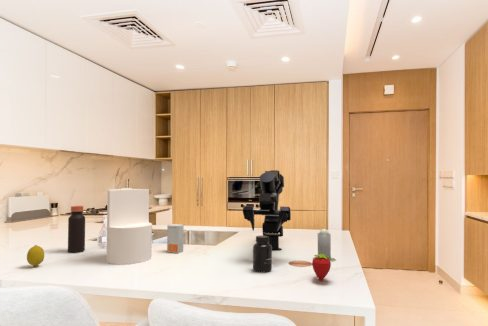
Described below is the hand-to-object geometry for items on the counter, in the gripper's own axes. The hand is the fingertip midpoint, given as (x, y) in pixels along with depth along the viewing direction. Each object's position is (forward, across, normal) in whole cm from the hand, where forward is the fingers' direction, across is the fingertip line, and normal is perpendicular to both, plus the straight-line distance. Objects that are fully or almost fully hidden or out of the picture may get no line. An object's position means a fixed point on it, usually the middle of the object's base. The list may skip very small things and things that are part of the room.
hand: (264, 230), depth 128 cm
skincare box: (0, -42, +19) cm, 46 cm away
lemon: (+23, -83, -4) cm, 86 cm away
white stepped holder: (+10, -55, +8) cm, 57 cm away
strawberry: (+20, +20, -2) cm, 29 cm away
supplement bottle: (+14, 0, +4) cm, 15 cm away
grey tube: (+1, +22, +16) cm, 28 cm away
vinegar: (+5, -85, +14) cm, 87 cm away
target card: (+5, +17, +14) cm, 22 cm away
